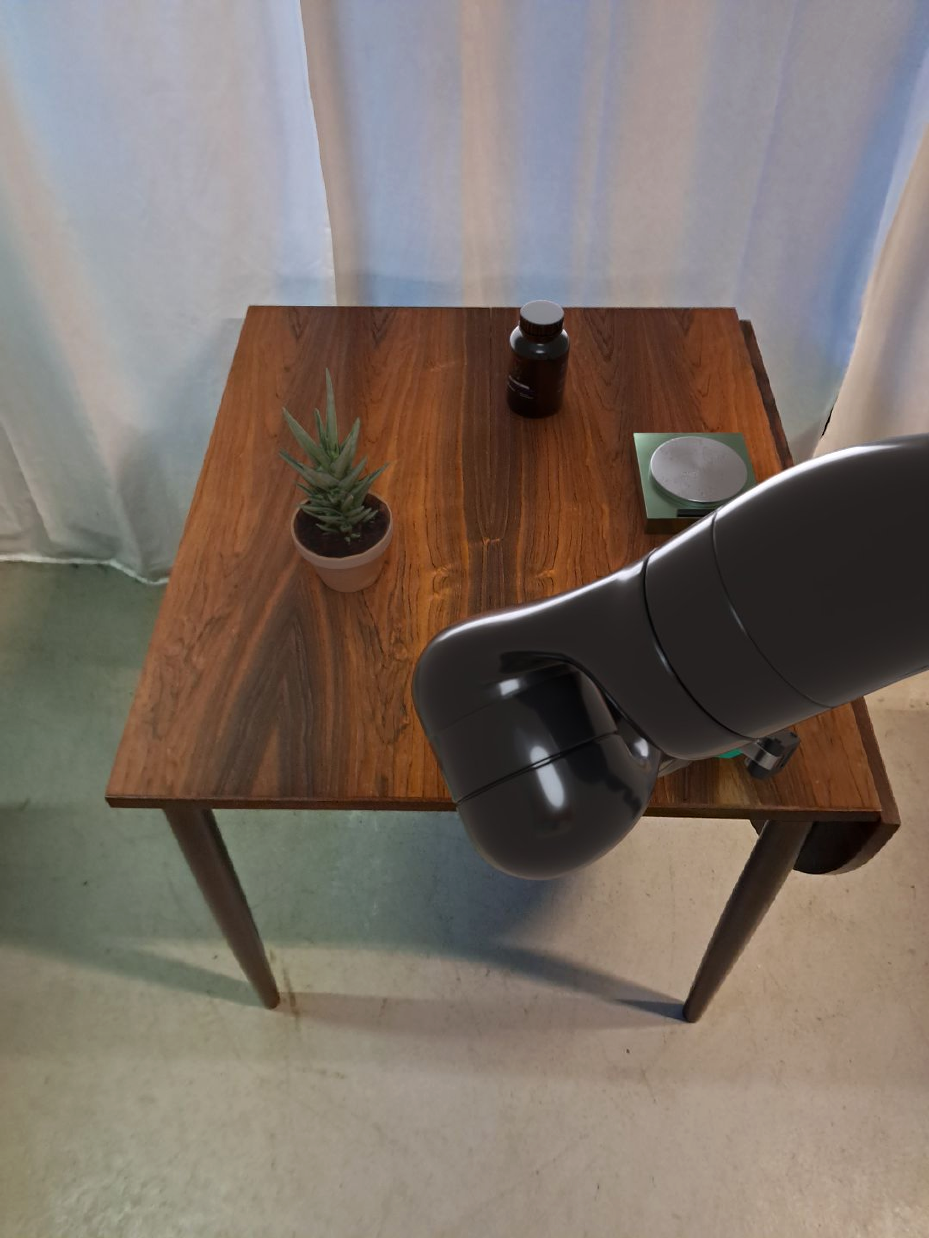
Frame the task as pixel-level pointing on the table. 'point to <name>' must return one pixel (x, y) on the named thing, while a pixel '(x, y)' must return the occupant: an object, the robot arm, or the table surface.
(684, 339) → the table surface
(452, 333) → the table surface
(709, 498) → the scale
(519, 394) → the supplement bottle
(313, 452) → the potted plant
